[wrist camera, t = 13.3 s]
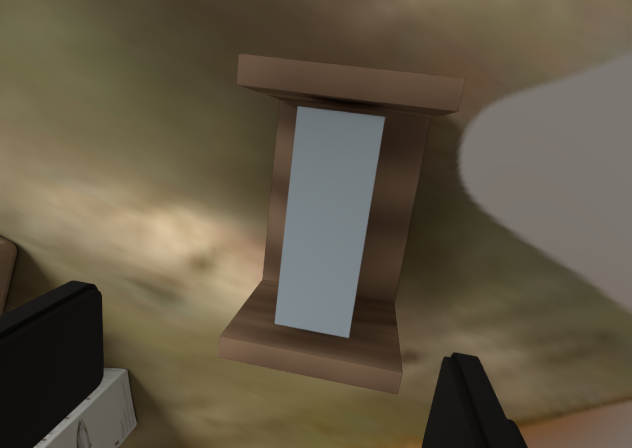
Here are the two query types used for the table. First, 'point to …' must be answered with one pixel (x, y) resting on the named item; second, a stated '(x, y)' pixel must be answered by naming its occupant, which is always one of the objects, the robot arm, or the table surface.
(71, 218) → the table surface
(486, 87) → the table surface
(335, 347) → the peg frame
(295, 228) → the grey rectangular block
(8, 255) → the wooden block
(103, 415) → the supplement box
